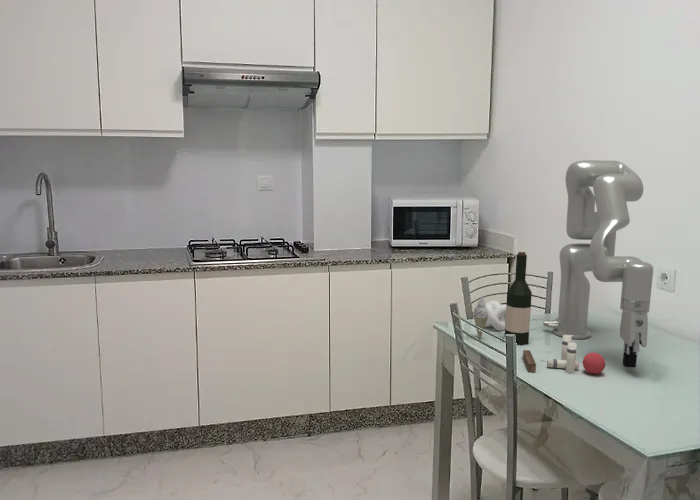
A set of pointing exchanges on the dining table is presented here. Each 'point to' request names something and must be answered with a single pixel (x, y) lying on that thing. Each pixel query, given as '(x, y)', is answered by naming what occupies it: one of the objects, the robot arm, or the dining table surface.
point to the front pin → (560, 363)
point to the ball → (594, 363)
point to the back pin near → (571, 357)
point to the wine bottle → (519, 303)
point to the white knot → (496, 315)
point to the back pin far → (565, 346)
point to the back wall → (529, 361)
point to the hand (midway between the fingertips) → (629, 366)
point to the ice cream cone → (480, 316)
